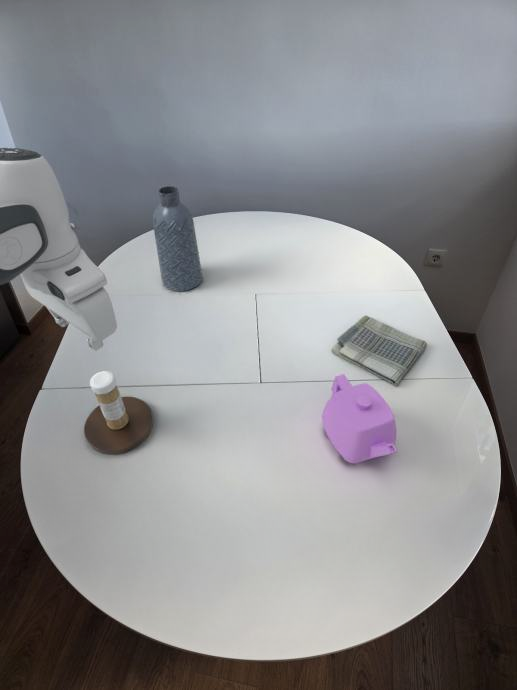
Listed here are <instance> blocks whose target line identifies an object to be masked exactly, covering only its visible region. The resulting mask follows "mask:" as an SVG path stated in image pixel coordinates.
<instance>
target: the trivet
mask: <svg viewBox="0 0 517 690" xmlns="http://www.w3.org/2000/svg"><path fill="white" fill-rule="evenodd" d="M121 398H122V401H123V404H124V406H125V411H126V413H127V415H128V417H129V420H128V423H127V424H126V426H124V427H123V428H121V429H117V430H116V429H115V430H113V429H111V428H109V427H108V425H107V421H106V419H105V417H104V415H103V413H102V410H101V408H100V405H99V404H98V406H96V407H95V408H94V409H93V410H92V411H91V412H90V413H89V415H88V416H87V418H86V420H85V423H84V427H83V433H84V437H85V440H86V442H87V443H88V445H89V446H90V448H92V449H93V450H94V451H96V452H97V453H100V454H104V455H109V456H110V455H111V456H113V455H114V456H115V455H121V454H125V453H128V452H130V451H132V450H134V449H136V448H138V447H139V446H140V445H142V444H143V443H144V442H145V441H146V439H148V437H149V436H150V434H151V432H152V430H153V426H154V416H153V413H152V410H151V408H150V406H149V404H148V403H146V401H144V400H142V399H140V398H137V397H133V396H121Z"/></svg>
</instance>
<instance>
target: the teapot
mask: <svg viewBox="0 0 517 690" xmlns="http://www.w3.org/2000/svg"><path fill="white" fill-rule="evenodd" d="M331 392H332V395H331V396H330V398H329V399H328V400H327V402H326V403H325V405H324V407H323V410H322V414H321V421H322V426H323V428H324V429H323V430H324V431H325V433H326V436H327V438H328V439H329V441H330V442H331V445H332V447H334V449H335V450H336V452H338V454H340V456H341V457H342V458H343V460H344V461H346V463H347V462H348V463H349V464H359V463H362V462H365V461H370V460H371V459H374V458H379V457H384V456H388V455H392V454H394V453H397V452H398V449H397V448H396V446H395V444H396V441H397V425H396V424H397V423H396V418H395V415H394V412H393V410H392V409H391V407H390V405H389V404H388V403H387V401H386V399H385V398H384V397H383V395H381V394H380V392H378V391H377V390H376V389H375V388H374V387H373V386H372V385H370V384H369V383H364V382H363V383H360V384H356V385H352V384H351V382H350V380H349V379H348V378H347V376H346V374H345V373H343V374H339V375H335V377H334V379H333V382H332V385H331Z"/></svg>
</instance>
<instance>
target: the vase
mask: <svg viewBox="0 0 517 690" xmlns="http://www.w3.org/2000/svg"><path fill="white" fill-rule="evenodd" d="M157 193H158V198H159V204H158V205H157V206H156V208H155V210H154V211H153V216H152V225H153V226H152V227H153V231H154V232H153V233H154V239H155V240H154V241H155V246H156V253H157V259H158V264H159V271H160V272H159V273H160V278H161V282H162V284H163V286H164V287H165V288H166V289H168V290H169V291H173V292H187V291H190V290H193V289H195V288H196V287H198V286H200V284H201V283H202V281H203V269H202V265H201V259H200V252H199V247H198V240H197V235H196V233H197V232H196V228H195V222H194V218H193V214H192V212H191V210H190V208H189V207H188V206H187V205H186V204H184V203H183V202H182V201H181V199H180V193H179V189H178V188H177V187H176V186H173V185H168V186H167V185H166V186H163V187H160V188H159V189H158V192H157Z"/></svg>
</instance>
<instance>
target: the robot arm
mask: <svg viewBox="0 0 517 690" xmlns="http://www.w3.org/2000/svg"><path fill="white" fill-rule="evenodd" d="M70 223H71V222H70V211H69V208H68V204H67V202H66V199H65V196H64V192H63V190H62V188H61V185H60V183H59V180H58V179H57V176H56V174H55V172H54V170H53V168H52V166H51V165H50V163H49V162H48V160H47V159H46V157H44V156H43V155H42V154H40V153H38V152H37V151H33V150H29V149H24V148H18V147H9V148H8V147H0V286H3V285H5V284H9V283H10V282H11V281H13V280H15V279H16V278H17V277H19V276H20V277H21V280H22V282H23V284H24V287H25V290H26V291H27V293H28V294H29V295H30V297H31V298H33V299H34V300H36V301H37V302H39V303H40V304H41V305H43V306H44V307H46V309H47V310H48V312H49V313H50V314H51V316H52V317H53V318H54V320H55V323H56V325H58V326H60V327H61V328H65V327H66V326H68V325H72V326H73V327H75V328H76V329H77V330H79V331H81V332H82V333H83V334H85V335H86V336H88V337H89V338H87V339H86V342H87V344H88V347H89V348H91V349H92V350H93V351H95V352H97V351H98V350H100V349H101V348H103V347H104V342H103V341H104V340H105V339H107V338H109V337H110V336H112V335H113V334H114V333H116V331H117V329H118V322H117V319H116V318H117V317H116V314H115V311H114V310H115V309H114V307H113V303H112V300H111V298H110V295H109V293H108V291H107V289H105V288H104V287H105V286H107V284H108V280H107V276H106V274H105V272H103V271H102V269H100V267H98V266H97V265H96V264H95V263H94V262H93V260H92V259H90V258H89V256H88V255H87V253H86V251H85V250H84V249H83V248H81V244H80V241H79V238H78V236H77V234H76V232H75V231H74V230H73V229H72V226H71V224H70Z"/></svg>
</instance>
